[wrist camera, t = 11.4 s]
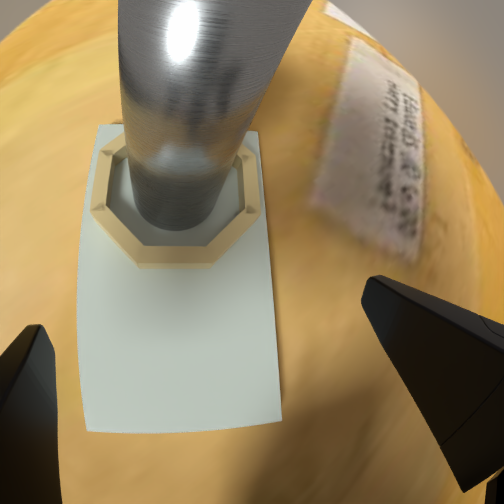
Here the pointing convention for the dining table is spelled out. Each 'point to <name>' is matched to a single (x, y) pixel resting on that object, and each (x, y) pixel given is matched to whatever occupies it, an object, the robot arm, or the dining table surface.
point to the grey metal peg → (194, 94)
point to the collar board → (175, 306)
